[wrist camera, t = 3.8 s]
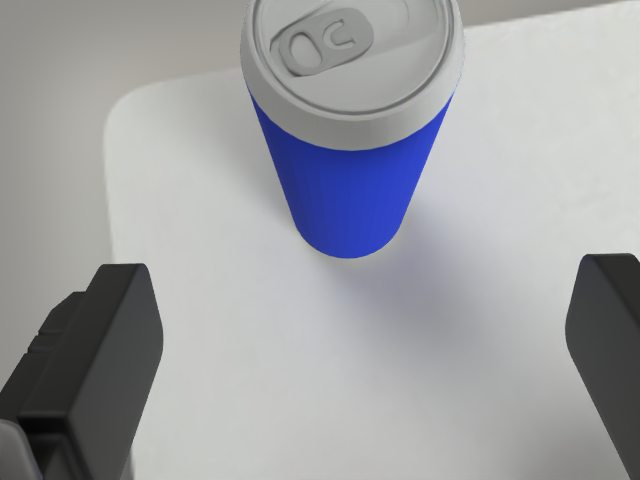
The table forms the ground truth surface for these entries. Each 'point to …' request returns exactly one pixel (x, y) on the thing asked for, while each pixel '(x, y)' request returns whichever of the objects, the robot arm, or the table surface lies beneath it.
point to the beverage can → (351, 107)
